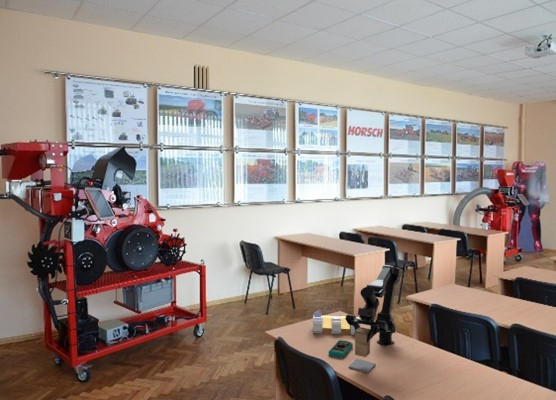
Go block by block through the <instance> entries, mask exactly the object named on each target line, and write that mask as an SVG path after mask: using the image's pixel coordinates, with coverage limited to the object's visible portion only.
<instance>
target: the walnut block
mask: <svg viewBox="0 0 556 400" xmlns="http://www.w3.org/2000/svg"><path fill="white" fill-rule="evenodd" d="M369 332H370V328H368V327H367V328H366V327H361V326H360V327H359V328H358V329H356V330H355V335H354V355H355V356H358V357H362V358H367V357H368V356H369V355H370V353H371V340H370V341H369V342H367V337H368V334H369Z"/></svg>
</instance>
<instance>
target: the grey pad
mask: <svg viewBox="0 0 556 400" xmlns="http://www.w3.org/2000/svg"><path fill="white" fill-rule="evenodd" d="M375 366H376V363H375V362H372V361H368V360H362V359H359V358H355V360H354V361H353V362H352V363H351V364H349V365H348V369H352V370H355V371H358V372H362V373H366V374H369V373H370V372H371V370H373V369H374V367H375Z"/></svg>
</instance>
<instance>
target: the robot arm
mask: <svg viewBox="0 0 556 400" xmlns="http://www.w3.org/2000/svg"><path fill="white" fill-rule="evenodd" d="M402 274H403V271H402V269H400V267H396V266H393V265H388V264H384V265H382V268H381V271H380V272H379V274H378V275H377V278H376V279H375V280H374V281H371V282H370V283H369V284H366V286H365V287H363V288H362V289H361V290H360V292H359V293H360V295H361V297H362V299H363V302H364V303H365V304H364V306H363V307H358V309H357V316H358V317H359V318H360V319H358V318H356V317H357V316H356V315H354V314H350V313H348V314H346V315H345V317H346V318H345V319H346V321H347V323H348V324H349V325H353V326H354V328H355V330H356V329H358V328H359V327H361V325H365V326H369V327H370V328H369V329H370V332H369V334H368V337H367V342H369V341H370V342H371V340H372V338H374V336H376V335H377V334H378V333H379V335H378V336H379V337H378V340H377V341H376V344H377V343H378V344H381V345H383V346H387V347H388V346H390V345H393V344H395V341H393V340H392V339H393V337H392V336H393V335H392V334H395V333H396V324H395V323H394V317H393V315H392V309H393V302H394V296H395V292H396V291H395V290H396V285H397V284H398V283H399V282H400V280H401V277H402ZM378 298H383V302H382V307H381V310H380V312H378V309H379V308H378V307H379V306H380V300H379V299H378ZM375 318H376V319H375ZM359 325H360V326H359Z"/></svg>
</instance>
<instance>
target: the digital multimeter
mask: <svg viewBox="0 0 556 400" xmlns="http://www.w3.org/2000/svg"><path fill="white" fill-rule="evenodd" d="M353 346H354V344H353V343H352V342H351V341H347V340H342V339H341V340H340V339H339V340H338V341H336V343H335V344H334V345H333V347H332V348H330V350H329V349H328V356H329V357H333V358H337V359H345V358H346V356H347V354H348V353H349V352H350V350H351V349H352V348H354V347H353Z"/></svg>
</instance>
